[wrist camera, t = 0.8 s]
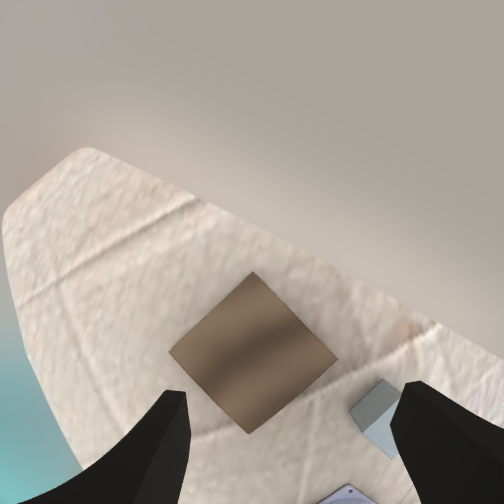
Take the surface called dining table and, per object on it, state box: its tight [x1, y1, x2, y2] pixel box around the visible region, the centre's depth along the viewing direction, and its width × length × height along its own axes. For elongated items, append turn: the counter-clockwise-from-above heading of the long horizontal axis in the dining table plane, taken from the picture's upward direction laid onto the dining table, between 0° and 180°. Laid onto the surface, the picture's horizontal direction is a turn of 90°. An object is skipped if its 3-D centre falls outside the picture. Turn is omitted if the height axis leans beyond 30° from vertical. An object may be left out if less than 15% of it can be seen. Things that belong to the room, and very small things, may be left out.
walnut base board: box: [169, 272, 338, 434], centre depth 26 cm, size 11×11×1 cm
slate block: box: [350, 379, 402, 459], centre depth 22 cm, size 4×4×6 cm
